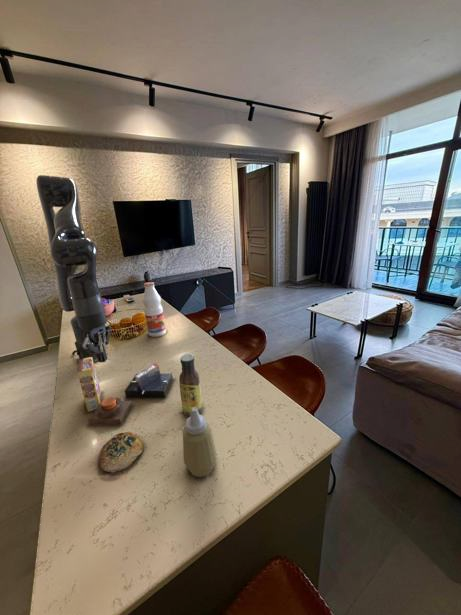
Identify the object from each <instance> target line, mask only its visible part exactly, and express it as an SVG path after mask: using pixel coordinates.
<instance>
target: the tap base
mask: <svg viewBox="0 0 461 615" xmlns="http://www.w3.org/2000/svg"><path fill="white" fill-rule="evenodd" d="M137 374H138V373H135V375H137ZM160 375H161V376H160V377H158V378H157V379H155V380H154V381H153V382H151V383H150V384H148V385H147V386H145V387H144V388H142V389H139V388H137V384H136V379H135V376H133V378H132V380H131V381H130V382H129V384H128V385H127V387H126V388H125V390H124V393H125V398H126V399H141V398H142V399H166V397H167V395H168V392H169V390H170V388H171V385H172V384H173V381H174V377H173V373H160Z"/></svg>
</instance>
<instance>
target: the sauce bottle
mask: <svg viewBox="0 0 461 615" xmlns="http://www.w3.org/2000/svg"><path fill="white" fill-rule="evenodd" d="M180 365H181V372H180V374H179V379H178V380H179V381H178V382H179V392H180V393H179V394H180V401H181V408H182V412H183V414H184V415H185V416H187V417H191V409H192V408H193V407H196V408H197V411H198V413H199V414H201V412H202V409H203V407H202V405H203V402H202V401H203V400H202V391H201V380H200V374H199V372H198V371H197V369H196V367H195V356H194V355H193V354H191V353H187V354H183V355H181V357H180Z"/></svg>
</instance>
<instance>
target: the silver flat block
mask: <svg viewBox="0 0 461 615" xmlns="http://www.w3.org/2000/svg"><path fill="white" fill-rule="evenodd" d="M136 374H137V375H136ZM136 374H134V377H135V379H136V384H137V388H139V389H142V388H144V387H145V386H147V385H148V384H150V383H151V382H153V381H154V380H155V379H157V378H158V377H160V376H161V375H160V374H161V370H160V365H159V364H158V363H157V362H154V363H152V364H151V365H150V366H148V367H147V368H145V369H143V370H142V371H140V372H138V373H136Z"/></svg>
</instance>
